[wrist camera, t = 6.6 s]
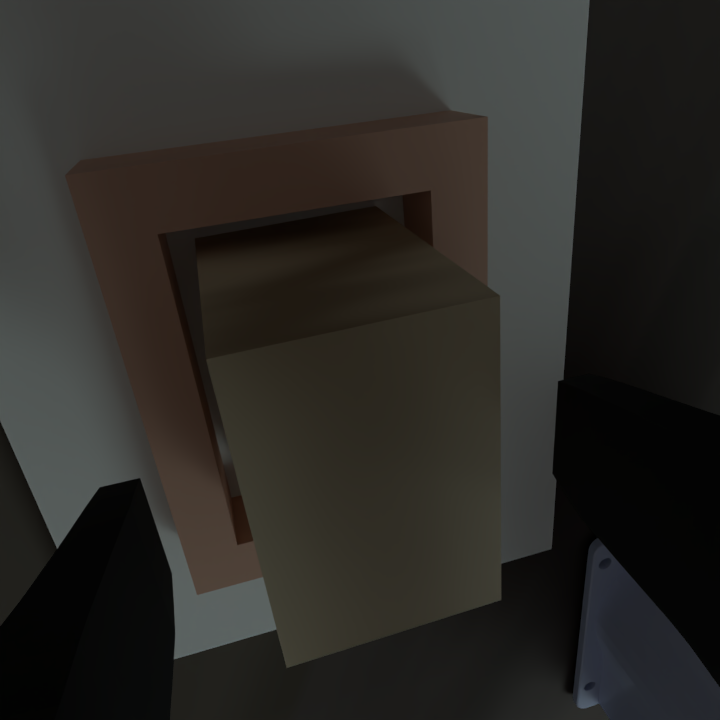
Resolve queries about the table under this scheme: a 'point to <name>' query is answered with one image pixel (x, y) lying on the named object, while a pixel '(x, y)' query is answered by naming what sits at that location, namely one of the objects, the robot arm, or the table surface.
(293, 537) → the oak block
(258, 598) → the holder
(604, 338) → the table surface
